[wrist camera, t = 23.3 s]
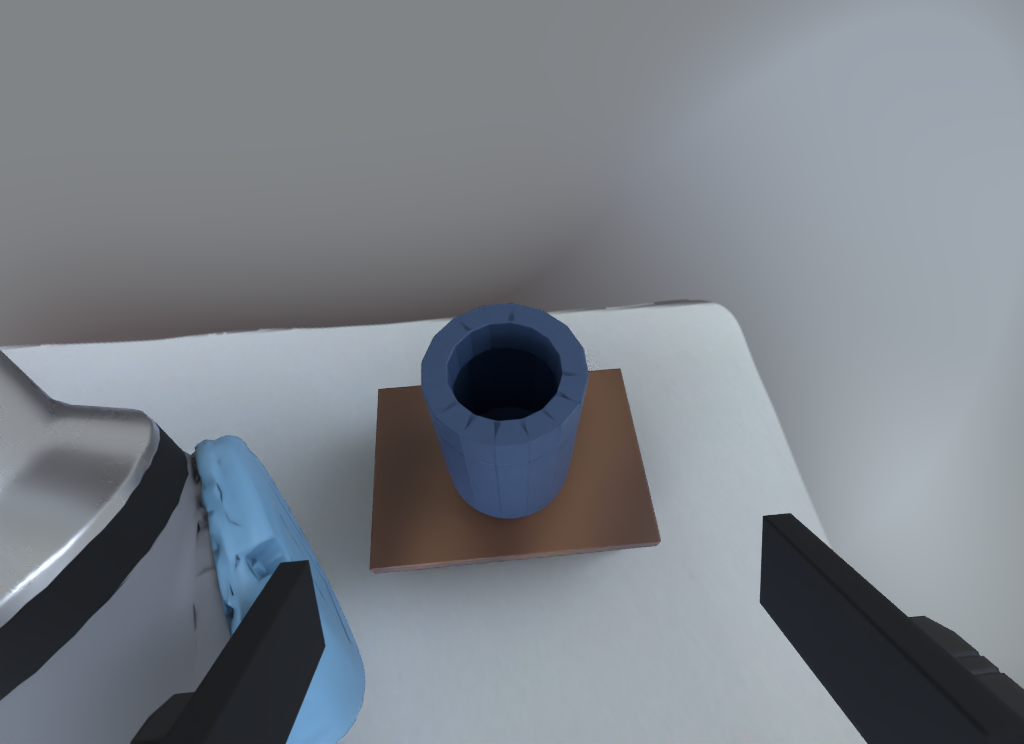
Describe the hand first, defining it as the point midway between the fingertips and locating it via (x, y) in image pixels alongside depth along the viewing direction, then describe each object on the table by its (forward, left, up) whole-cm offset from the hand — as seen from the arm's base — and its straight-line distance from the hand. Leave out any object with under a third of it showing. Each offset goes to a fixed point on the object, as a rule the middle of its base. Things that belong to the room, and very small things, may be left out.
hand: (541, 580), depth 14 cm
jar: (0, +10, -16) cm, 19 cm away
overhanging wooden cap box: (0, +10, -22) cm, 24 cm away
